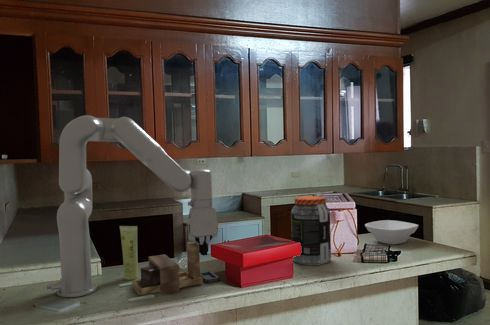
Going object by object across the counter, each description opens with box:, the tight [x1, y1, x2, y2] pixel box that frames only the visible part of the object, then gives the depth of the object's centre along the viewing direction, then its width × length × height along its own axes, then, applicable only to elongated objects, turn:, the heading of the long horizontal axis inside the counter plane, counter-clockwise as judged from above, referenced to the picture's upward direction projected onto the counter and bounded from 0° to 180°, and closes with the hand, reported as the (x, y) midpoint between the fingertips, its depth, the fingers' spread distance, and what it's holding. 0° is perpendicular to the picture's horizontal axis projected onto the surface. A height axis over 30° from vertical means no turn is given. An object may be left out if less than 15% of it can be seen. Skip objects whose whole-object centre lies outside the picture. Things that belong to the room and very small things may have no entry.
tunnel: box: [148, 254, 181, 296], centre depth 146 cm, size 6×16×9 cm, turn 26°
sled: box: [131, 241, 204, 296], centre depth 147 cm, size 22×11×13 cm, turn 116°
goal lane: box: [118, 281, 155, 303], centre depth 142 cm, size 8×18×1 cm, turn 26°
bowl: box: [364, 219, 419, 245], centre depth 199 cm, size 21×21×9 cm
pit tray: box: [200, 270, 221, 284], centre depth 154 cm, size 5×9×1 cm, turn 26°
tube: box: [119, 225, 139, 281], centre depth 157 cm, size 6×5×20 cm
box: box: [140, 264, 160, 288], centre depth 145 cm, size 6×6×7 cm
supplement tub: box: [290, 195, 332, 266], centre depth 172 cm, size 16×16×26 cm
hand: (203, 254), depth 153 cm, fingers closed
